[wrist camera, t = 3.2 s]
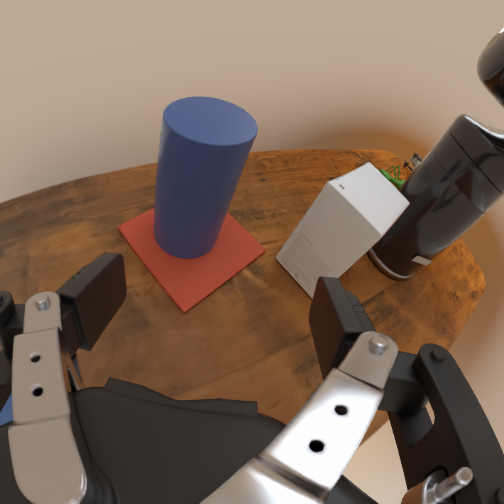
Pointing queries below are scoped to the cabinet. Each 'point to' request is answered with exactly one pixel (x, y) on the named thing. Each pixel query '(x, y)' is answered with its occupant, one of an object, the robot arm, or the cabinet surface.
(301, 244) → the small box
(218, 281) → the terracotta mat
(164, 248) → the blue can
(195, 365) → the cabinet surface
